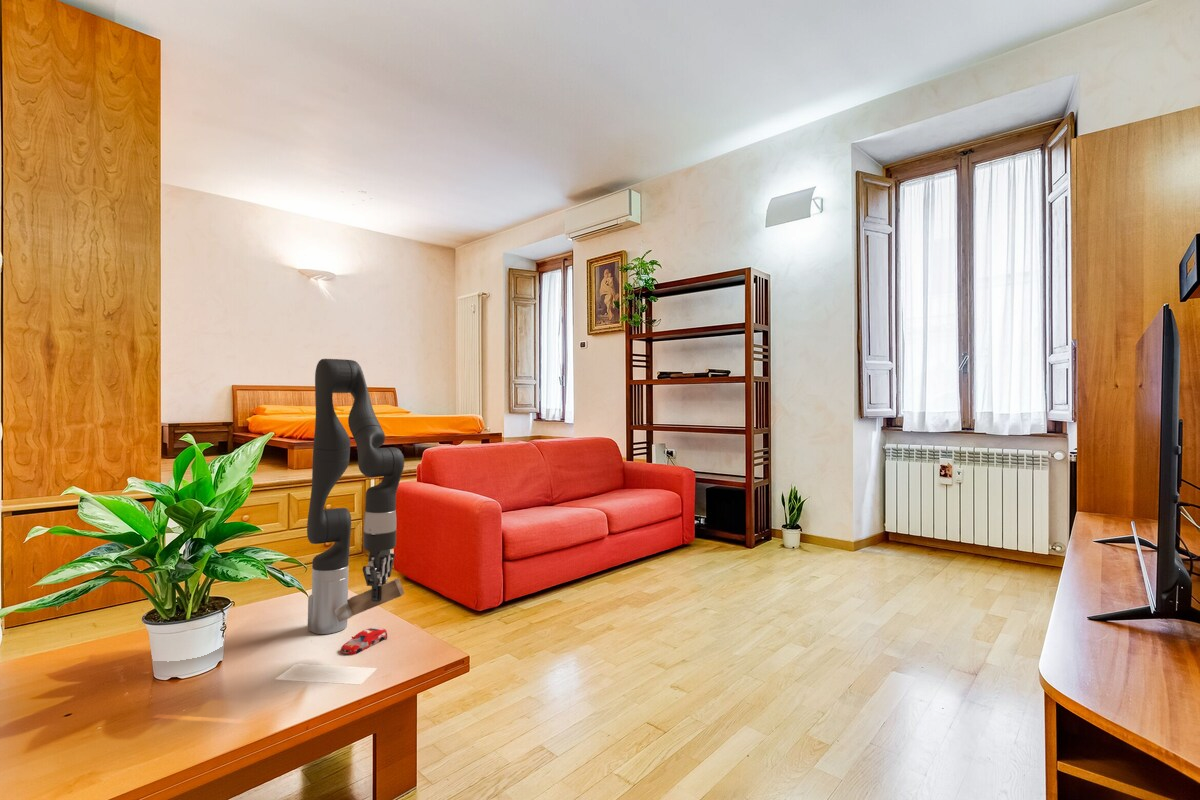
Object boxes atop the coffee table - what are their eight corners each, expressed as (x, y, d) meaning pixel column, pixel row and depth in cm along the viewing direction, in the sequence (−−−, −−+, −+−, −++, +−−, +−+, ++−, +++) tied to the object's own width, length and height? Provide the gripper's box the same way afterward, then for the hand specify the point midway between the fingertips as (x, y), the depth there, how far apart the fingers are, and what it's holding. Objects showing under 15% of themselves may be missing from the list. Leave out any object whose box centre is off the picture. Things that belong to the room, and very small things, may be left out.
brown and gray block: (339, 622, 139) (332, 607, 140) (349, 614, 144) (343, 600, 145) (398, 597, 139) (392, 582, 139) (406, 591, 144) (400, 576, 144)
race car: (351, 660, 142) (352, 644, 142) (335, 656, 144) (336, 640, 144) (391, 640, 154) (391, 625, 154) (375, 636, 156) (376, 622, 156)
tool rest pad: (274, 682, 129) (274, 679, 129) (296, 666, 137) (296, 663, 137) (360, 687, 128) (360, 684, 128) (377, 670, 136) (377, 668, 136)
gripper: (377, 522, 149) (376, 589, 149) (351, 534, 135) (350, 608, 135) (406, 523, 148) (404, 591, 148) (383, 535, 135) (381, 610, 134)
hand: (378, 599), depth 141 cm, fingers closed on brown and gray block, 2 cm apart
